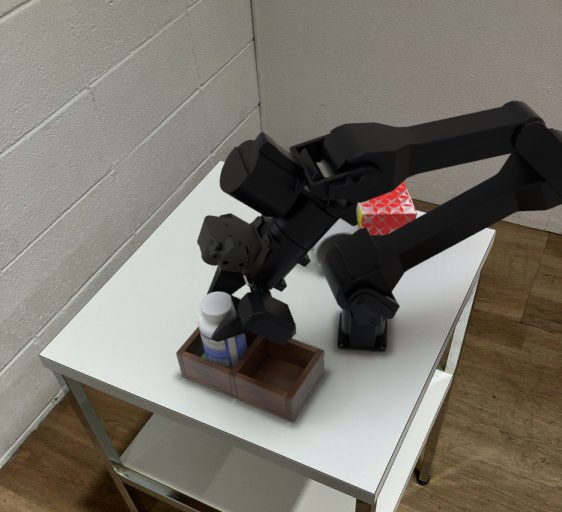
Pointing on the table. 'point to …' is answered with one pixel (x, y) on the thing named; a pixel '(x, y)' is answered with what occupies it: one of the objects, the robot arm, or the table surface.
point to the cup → (332, 239)
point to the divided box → (259, 373)
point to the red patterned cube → (386, 212)
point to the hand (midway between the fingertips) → (209, 323)
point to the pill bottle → (208, 321)
